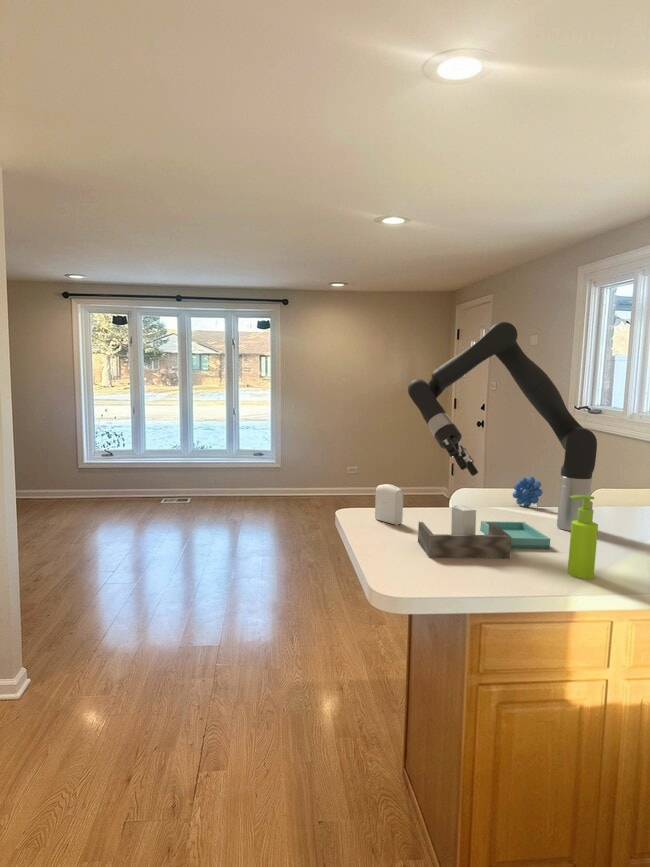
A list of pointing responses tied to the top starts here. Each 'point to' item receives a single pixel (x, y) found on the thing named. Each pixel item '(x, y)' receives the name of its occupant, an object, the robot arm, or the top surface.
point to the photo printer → (389, 504)
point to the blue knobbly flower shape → (527, 491)
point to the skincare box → (463, 520)
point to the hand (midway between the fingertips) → (470, 471)
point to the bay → (465, 544)
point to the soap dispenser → (583, 541)
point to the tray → (520, 534)
